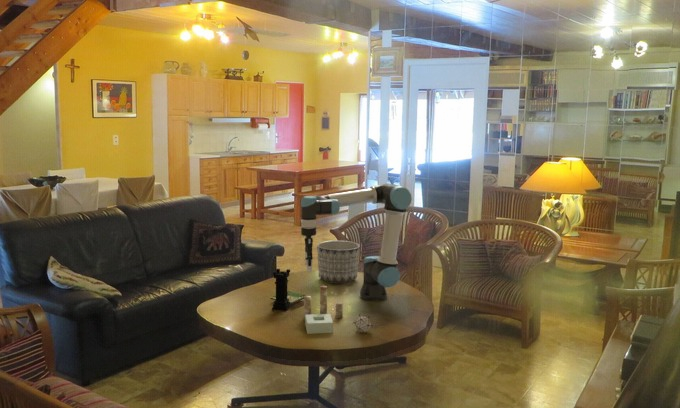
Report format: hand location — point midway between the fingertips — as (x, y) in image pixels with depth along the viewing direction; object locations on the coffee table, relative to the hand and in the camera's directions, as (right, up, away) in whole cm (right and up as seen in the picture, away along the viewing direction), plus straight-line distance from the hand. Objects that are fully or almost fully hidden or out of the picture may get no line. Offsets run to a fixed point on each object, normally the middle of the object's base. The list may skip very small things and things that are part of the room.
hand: (308, 268), depth 298 cm
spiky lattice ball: (+27, -28, -21) cm, 44 cm away
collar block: (+6, -27, -17) cm, 32 cm away
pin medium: (0, -25, -3) cm, 25 cm away
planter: (+15, -14, +64) cm, 67 cm away
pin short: (+15, -24, -1) cm, 29 cm away
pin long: (+8, -24, -2) cm, 26 cm away
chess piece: (-15, -22, +12) cm, 29 cm away
